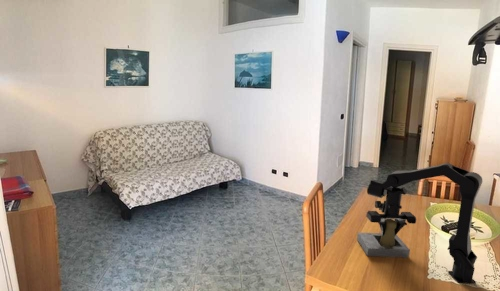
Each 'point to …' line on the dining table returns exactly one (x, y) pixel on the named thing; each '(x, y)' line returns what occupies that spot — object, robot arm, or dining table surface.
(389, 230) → the olive pawn
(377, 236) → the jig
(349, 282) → the dining table surface
